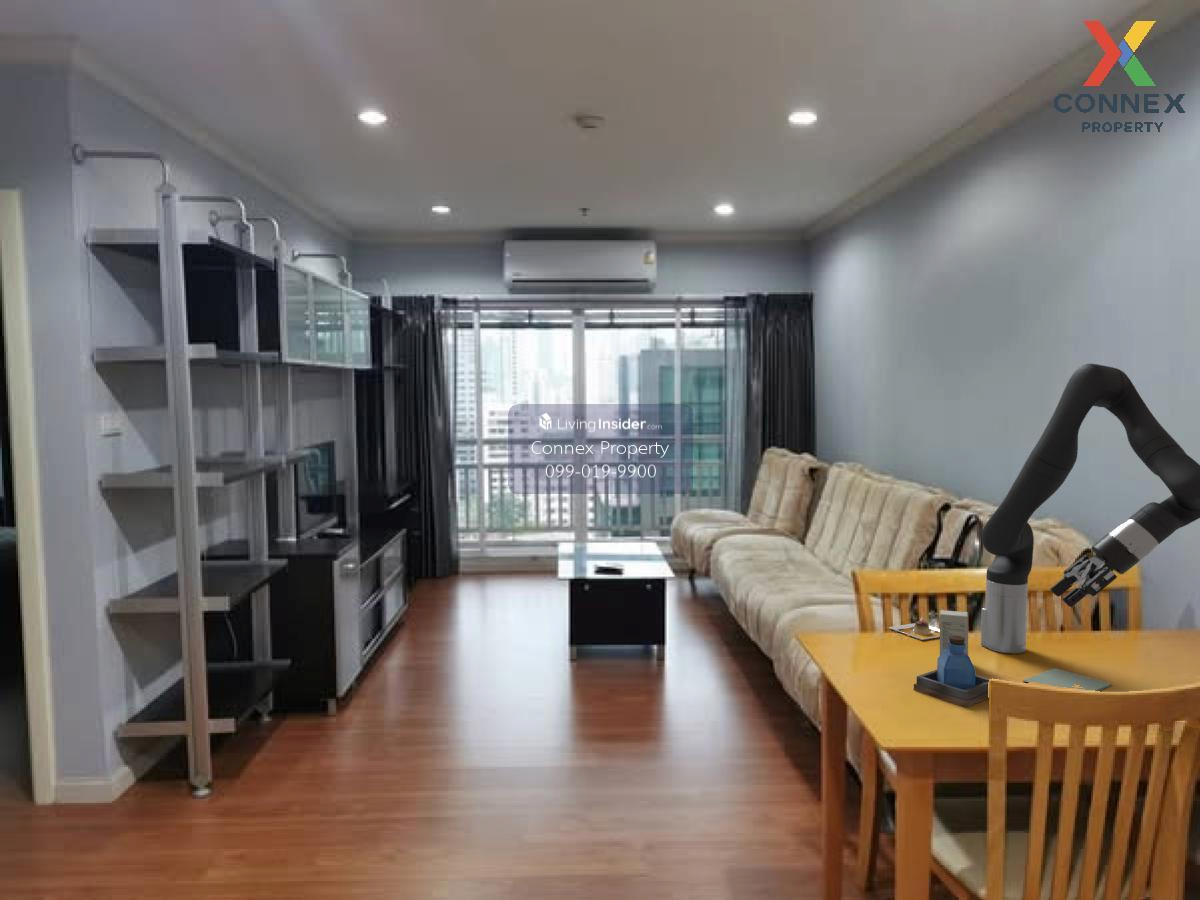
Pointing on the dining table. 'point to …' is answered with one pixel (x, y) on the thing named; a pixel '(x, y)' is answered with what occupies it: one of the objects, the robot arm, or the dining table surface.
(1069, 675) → the mat
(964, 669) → the perfume bottle
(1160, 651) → the dining table surface
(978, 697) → the shallow navy tray
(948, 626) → the skincare box
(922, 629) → the dessert
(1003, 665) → the dining table surface
